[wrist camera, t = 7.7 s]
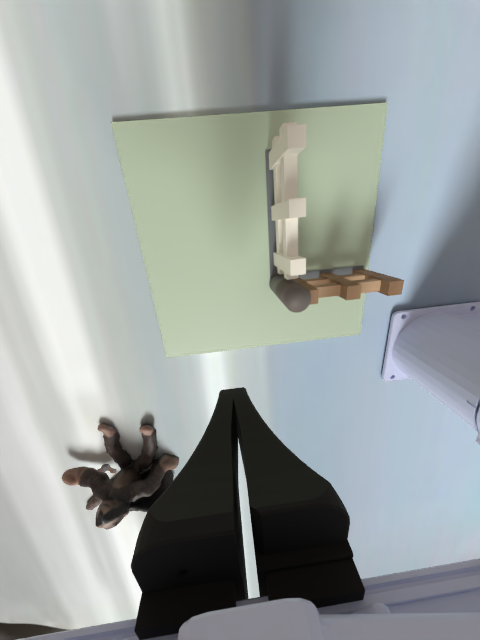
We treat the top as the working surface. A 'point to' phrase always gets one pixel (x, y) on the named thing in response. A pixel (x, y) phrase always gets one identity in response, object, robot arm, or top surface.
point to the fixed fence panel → (332, 287)
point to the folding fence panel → (287, 198)
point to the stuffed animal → (124, 478)
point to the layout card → (249, 221)
